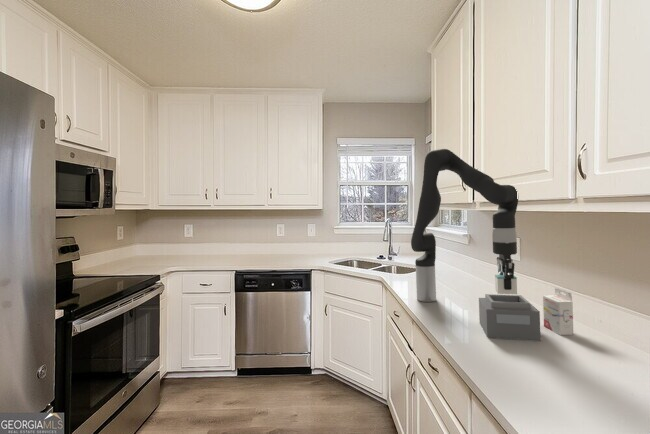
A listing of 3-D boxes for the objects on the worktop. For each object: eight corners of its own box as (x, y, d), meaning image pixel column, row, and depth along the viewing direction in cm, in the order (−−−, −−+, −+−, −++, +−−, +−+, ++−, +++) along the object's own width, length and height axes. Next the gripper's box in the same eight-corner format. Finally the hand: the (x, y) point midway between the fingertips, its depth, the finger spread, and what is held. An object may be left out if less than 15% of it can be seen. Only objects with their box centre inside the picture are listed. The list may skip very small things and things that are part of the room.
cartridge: (495, 290, 114) (494, 274, 114) (513, 291, 113) (513, 275, 112) (498, 293, 110) (497, 277, 110) (517, 294, 109) (516, 277, 109)
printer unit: (479, 322, 121) (478, 292, 121) (525, 325, 117) (524, 293, 116) (487, 338, 107) (486, 303, 107) (540, 341, 103) (539, 305, 102)
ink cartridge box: (542, 326, 115) (541, 286, 115) (556, 325, 115) (555, 286, 115) (559, 335, 106) (558, 293, 106) (574, 335, 106) (573, 292, 106)
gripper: (488, 238, 119) (490, 282, 119) (497, 242, 105) (499, 292, 106) (510, 238, 117) (512, 283, 117) (522, 242, 103) (524, 293, 104)
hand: (506, 287), depth 111 cm, fingers closed on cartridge, 4 cm apart
